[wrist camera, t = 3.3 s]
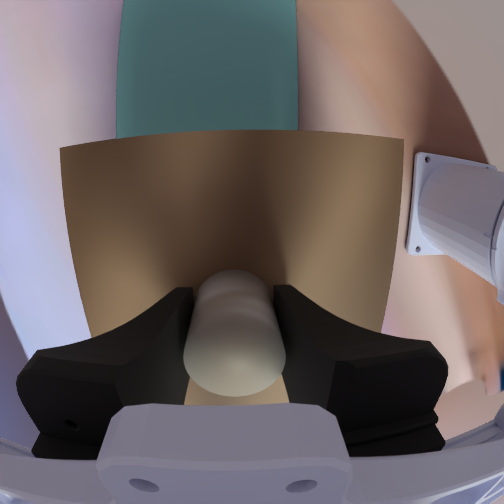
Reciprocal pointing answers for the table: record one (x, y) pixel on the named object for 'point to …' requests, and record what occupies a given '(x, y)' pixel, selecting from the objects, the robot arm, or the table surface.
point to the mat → (206, 66)
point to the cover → (233, 239)
